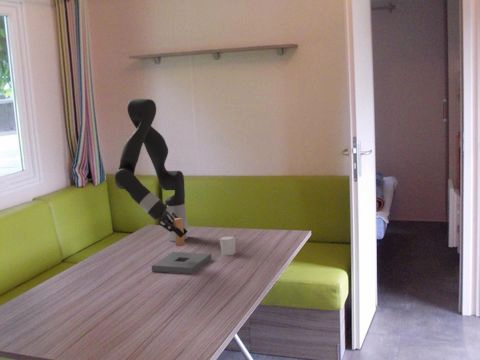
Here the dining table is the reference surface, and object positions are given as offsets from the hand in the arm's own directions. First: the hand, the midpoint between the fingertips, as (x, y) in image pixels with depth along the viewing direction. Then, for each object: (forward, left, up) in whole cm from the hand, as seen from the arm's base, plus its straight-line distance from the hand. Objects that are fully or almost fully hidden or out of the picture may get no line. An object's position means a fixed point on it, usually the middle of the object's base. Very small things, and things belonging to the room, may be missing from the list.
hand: (184, 234), depth 229 cm
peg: (0, -2, -5) cm, 5 cm away
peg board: (0, -2, -13) cm, 13 cm away
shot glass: (-18, +11, -13) cm, 25 cm away
